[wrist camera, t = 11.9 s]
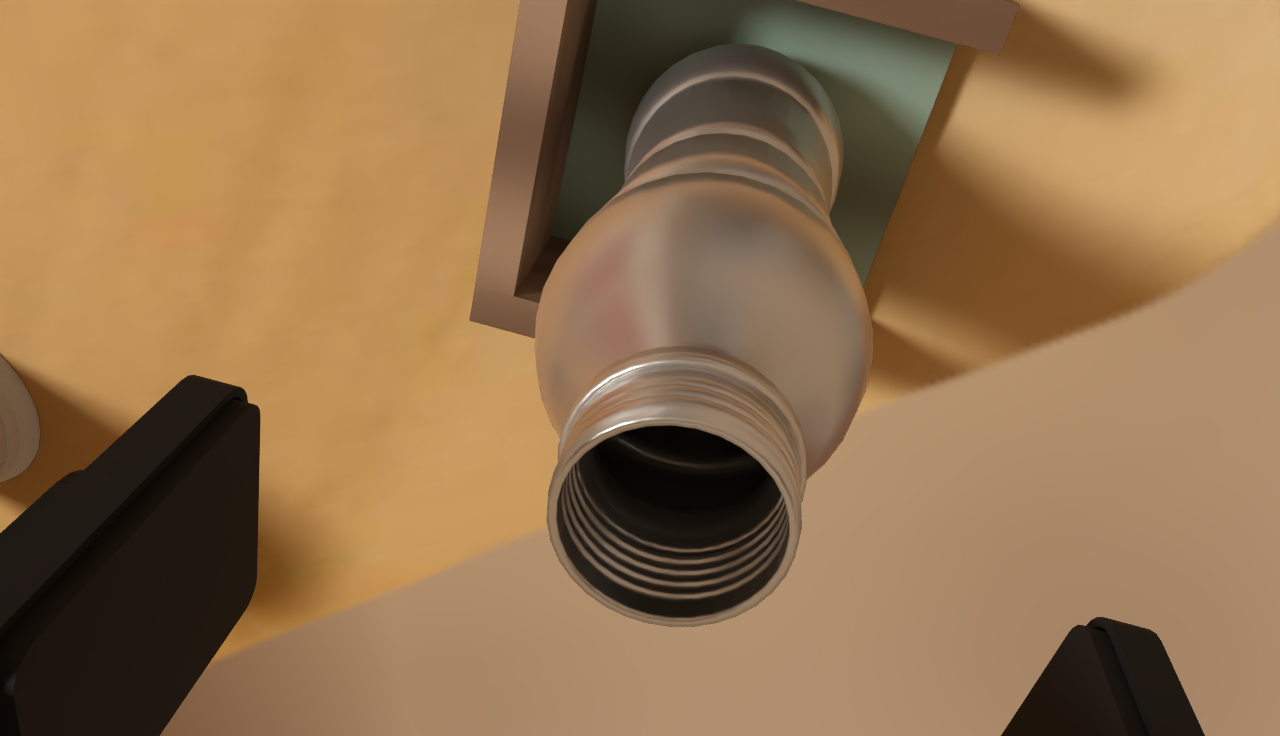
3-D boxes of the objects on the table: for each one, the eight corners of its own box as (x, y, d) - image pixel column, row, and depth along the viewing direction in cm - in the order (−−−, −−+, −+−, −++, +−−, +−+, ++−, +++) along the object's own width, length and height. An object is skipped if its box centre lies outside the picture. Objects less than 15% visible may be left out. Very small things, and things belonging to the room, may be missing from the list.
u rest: (585, -128, 28) (539, -124, 23) (976, -24, 28) (1020, 4, 23) (518, 249, 34) (469, 320, 29) (839, 336, 34) (848, 423, 29)
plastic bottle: (866, 53, 29) (989, 370, 11) (806, 256, 32) (832, 741, 15) (658, 8, 29) (466, 252, 12) (620, 214, 32) (428, 646, 15)
